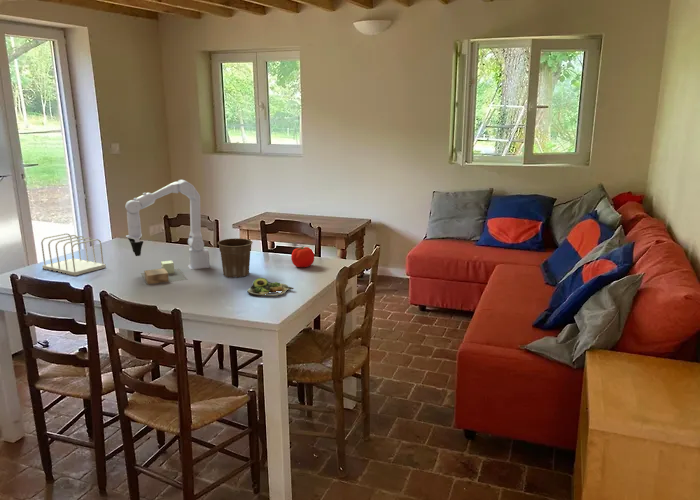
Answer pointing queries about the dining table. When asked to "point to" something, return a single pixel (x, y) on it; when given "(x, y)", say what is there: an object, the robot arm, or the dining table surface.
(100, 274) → the dining table surface
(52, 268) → the file sorter
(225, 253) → the plant pot
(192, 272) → the dining table surface
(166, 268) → the sage cube
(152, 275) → the walnut base block
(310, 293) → the dining table surface
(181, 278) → the building mat
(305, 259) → the tomato
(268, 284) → the salad plate
